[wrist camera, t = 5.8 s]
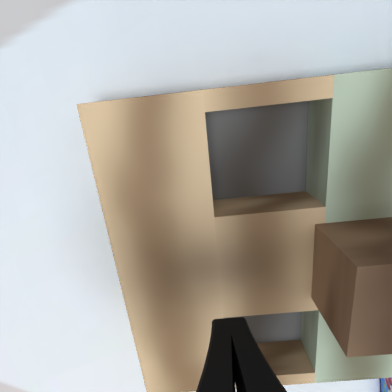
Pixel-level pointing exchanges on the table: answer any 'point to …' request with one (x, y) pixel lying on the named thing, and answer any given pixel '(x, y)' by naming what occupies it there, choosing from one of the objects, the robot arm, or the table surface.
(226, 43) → the table surface
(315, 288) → the walnut block
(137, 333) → the board
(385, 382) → the medicine box
